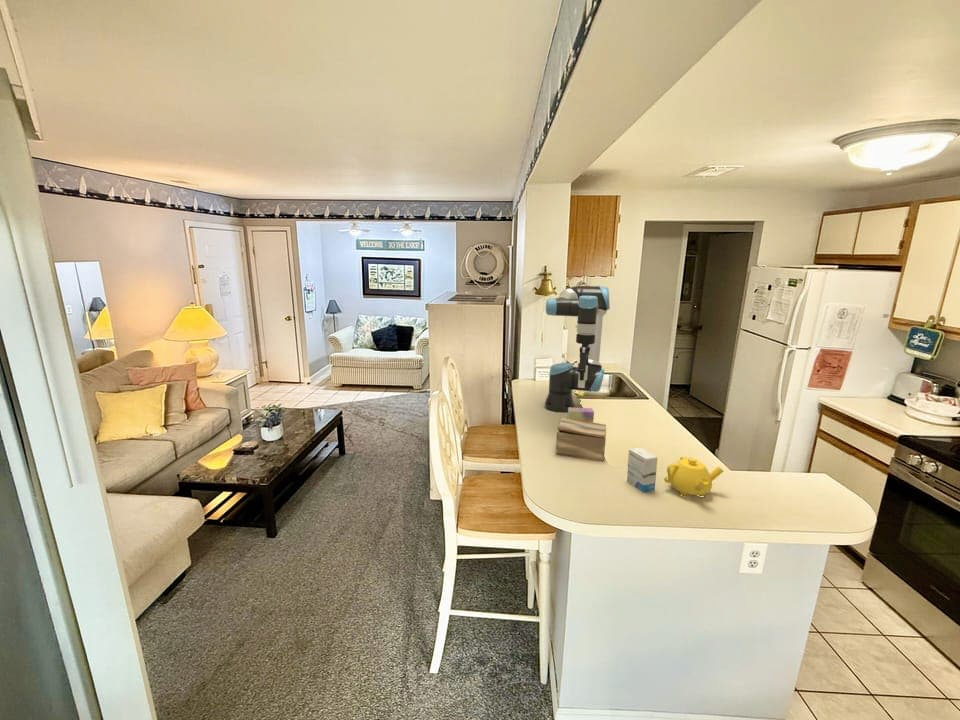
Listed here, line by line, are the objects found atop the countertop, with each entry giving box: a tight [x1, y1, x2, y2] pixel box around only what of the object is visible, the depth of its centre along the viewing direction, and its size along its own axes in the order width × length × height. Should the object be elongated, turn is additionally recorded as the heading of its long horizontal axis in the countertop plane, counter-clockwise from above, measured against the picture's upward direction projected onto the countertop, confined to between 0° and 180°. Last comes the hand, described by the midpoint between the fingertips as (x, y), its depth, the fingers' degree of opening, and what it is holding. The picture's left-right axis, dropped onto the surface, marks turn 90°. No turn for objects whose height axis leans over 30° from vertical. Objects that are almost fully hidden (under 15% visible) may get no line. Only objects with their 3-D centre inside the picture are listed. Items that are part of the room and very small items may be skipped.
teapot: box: [663, 456, 724, 497], centre depth 134 cm, size 14×14×11 cm
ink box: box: [626, 447, 658, 493], centre depth 138 cm, size 9×5×12 cm, turn 19°
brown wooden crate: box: [555, 429, 607, 462], centre depth 164 cm, size 12×18×9 cm, turn 72°
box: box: [566, 406, 595, 423], centre depth 180 cm, size 10×6×12 cm, turn 84°
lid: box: [557, 417, 607, 438], centre depth 163 cm, size 12×17×1 cm
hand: (582, 383), depth 176 cm, fingers open, 13 cm apart
